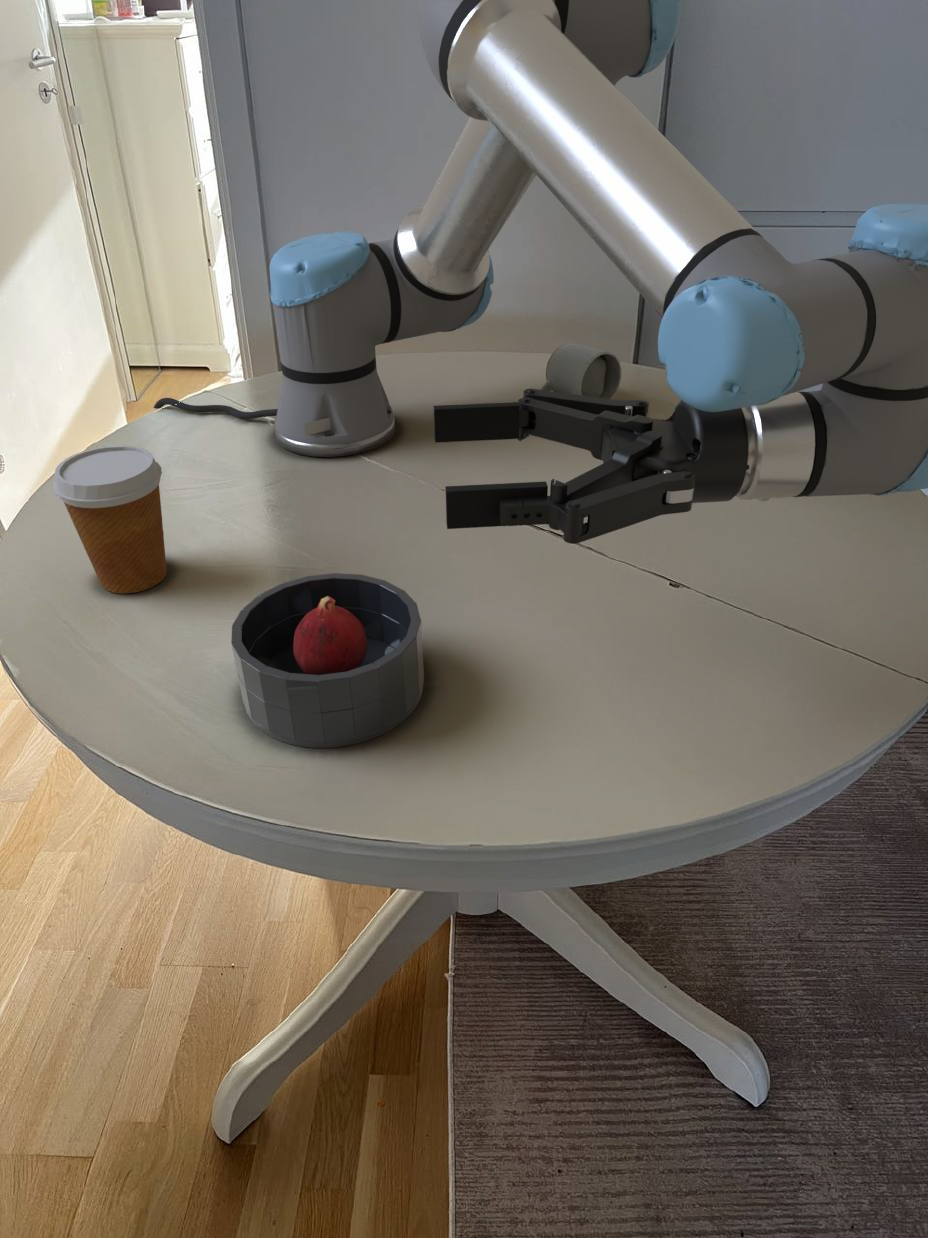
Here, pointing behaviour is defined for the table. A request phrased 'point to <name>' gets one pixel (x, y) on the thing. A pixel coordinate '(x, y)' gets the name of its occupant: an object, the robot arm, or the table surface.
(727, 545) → the table surface
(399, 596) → the pot
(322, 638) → the onion
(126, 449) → the disposable coffee cup
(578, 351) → the ceramic mug
